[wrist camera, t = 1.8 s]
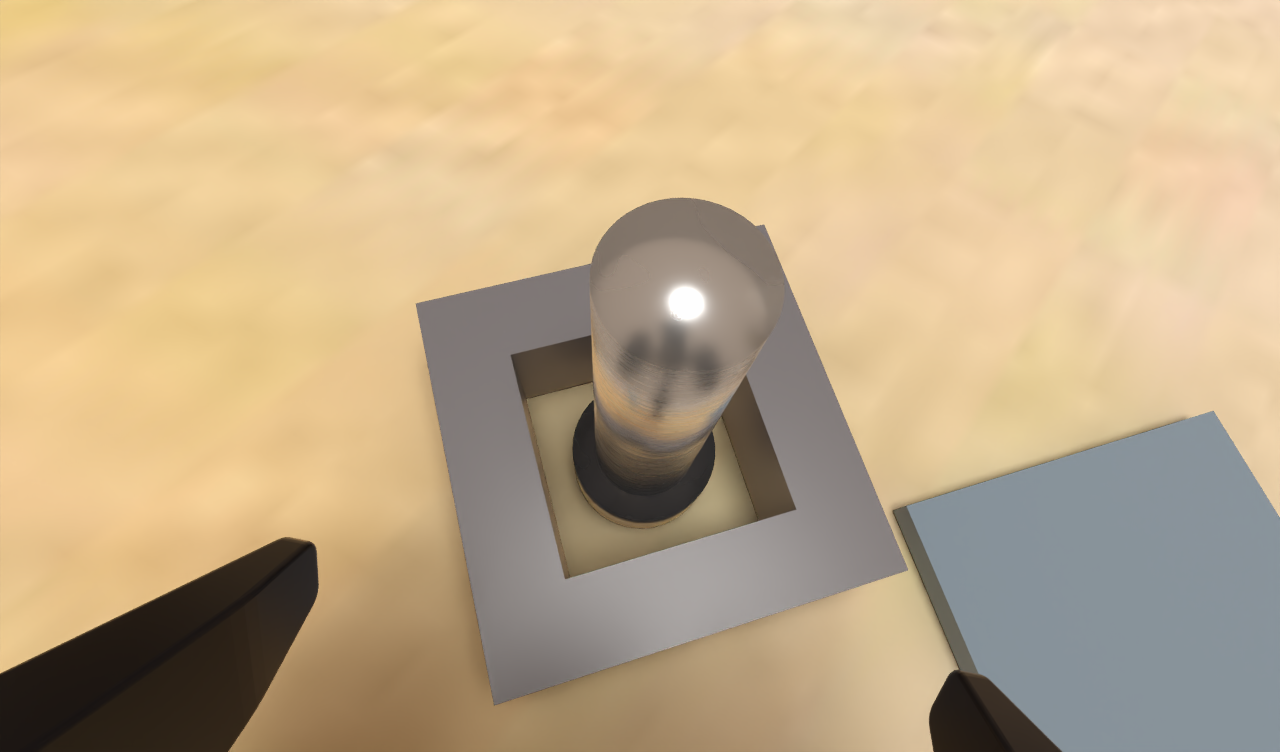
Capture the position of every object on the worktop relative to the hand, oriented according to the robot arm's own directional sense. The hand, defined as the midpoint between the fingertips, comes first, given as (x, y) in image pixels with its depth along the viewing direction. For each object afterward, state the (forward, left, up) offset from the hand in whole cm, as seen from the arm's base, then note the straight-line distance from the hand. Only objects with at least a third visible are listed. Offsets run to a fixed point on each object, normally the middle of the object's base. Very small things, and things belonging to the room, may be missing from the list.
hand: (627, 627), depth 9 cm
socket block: (+5, -2, -11) cm, 13 cm away
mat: (-5, -16, -11) cm, 20 cm away
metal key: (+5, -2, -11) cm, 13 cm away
